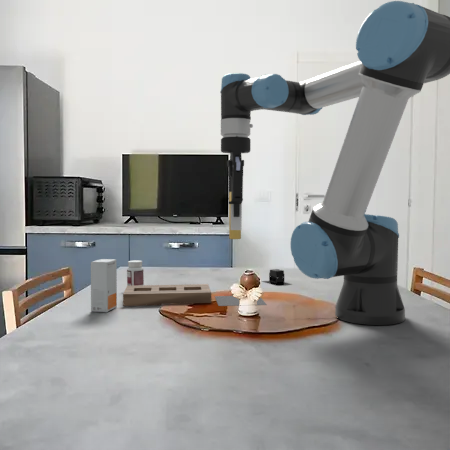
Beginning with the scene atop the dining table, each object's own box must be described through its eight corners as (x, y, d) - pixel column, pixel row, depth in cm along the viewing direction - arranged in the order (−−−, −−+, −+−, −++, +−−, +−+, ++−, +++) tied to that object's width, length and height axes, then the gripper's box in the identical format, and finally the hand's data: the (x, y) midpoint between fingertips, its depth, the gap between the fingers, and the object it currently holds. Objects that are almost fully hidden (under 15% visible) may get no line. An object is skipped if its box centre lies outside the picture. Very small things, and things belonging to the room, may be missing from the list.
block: (211, 304, 134) (211, 292, 134) (123, 306, 132) (123, 294, 132) (208, 294, 146) (208, 284, 146) (127, 296, 144) (127, 285, 144)
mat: (266, 306, 131) (266, 304, 131) (218, 307, 130) (218, 305, 130) (258, 296, 143) (258, 295, 143) (214, 297, 142) (214, 296, 142)
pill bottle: (145, 288, 156) (145, 260, 155) (141, 291, 151) (141, 262, 151) (129, 288, 156) (129, 259, 156) (125, 291, 152) (124, 262, 151)
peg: (241, 239, 135) (241, 191, 134) (229, 239, 134) (229, 191, 134) (240, 238, 138) (240, 191, 137) (228, 238, 137) (228, 191, 137)
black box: (297, 286, 162) (297, 271, 161) (277, 288, 158) (278, 273, 158) (275, 280, 172) (275, 266, 172) (255, 282, 169) (256, 268, 169)
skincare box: (107, 312, 125) (106, 262, 124) (90, 312, 125) (89, 261, 125) (117, 307, 131) (117, 259, 130) (101, 306, 131) (100, 258, 131)
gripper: (254, 134, 127) (254, 231, 128) (246, 140, 143) (245, 227, 144) (223, 133, 126) (223, 232, 128) (218, 139, 142) (218, 227, 144)
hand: (235, 229), depth 136 cm, fingers closed on peg, 3 cm apart
